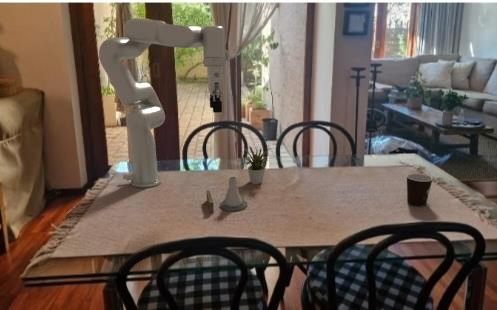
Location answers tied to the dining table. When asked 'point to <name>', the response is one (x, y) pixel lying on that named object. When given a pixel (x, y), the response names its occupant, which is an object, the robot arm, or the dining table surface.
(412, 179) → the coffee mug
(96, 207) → the dining table surface
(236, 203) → the flask
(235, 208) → the grey flat disc
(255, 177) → the house plant
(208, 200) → the wooden plank
